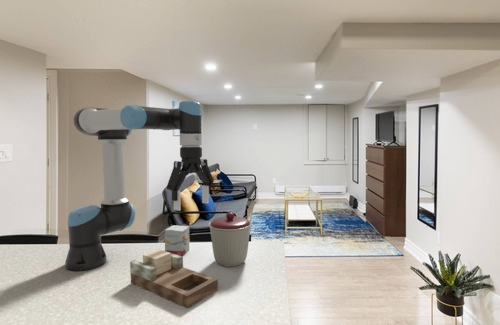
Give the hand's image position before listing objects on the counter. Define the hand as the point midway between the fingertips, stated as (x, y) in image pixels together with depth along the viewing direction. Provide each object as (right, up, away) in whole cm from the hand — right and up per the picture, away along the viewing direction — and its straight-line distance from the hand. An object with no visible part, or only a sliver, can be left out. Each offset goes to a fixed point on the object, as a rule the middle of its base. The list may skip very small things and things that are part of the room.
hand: (192, 206), depth 110 cm
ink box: (-12, -26, +31) cm, 42 cm away
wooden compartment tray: (-6, -28, -1) cm, 29 cm away
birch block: (-13, -24, +4) cm, 27 cm away
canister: (+12, -27, +21) cm, 36 cm away
